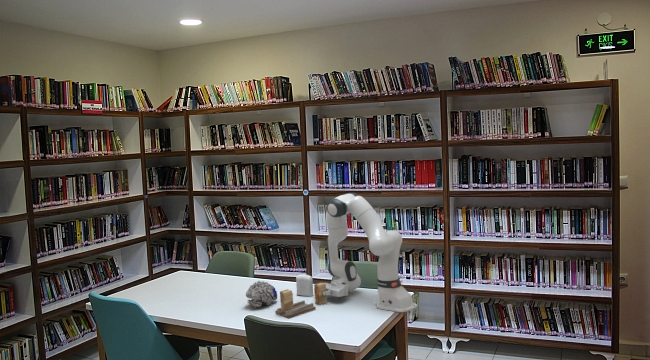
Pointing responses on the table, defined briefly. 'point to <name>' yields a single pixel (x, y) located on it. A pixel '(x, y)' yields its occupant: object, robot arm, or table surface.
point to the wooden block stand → (292, 305)
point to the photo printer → (304, 285)
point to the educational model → (261, 294)
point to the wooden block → (320, 293)
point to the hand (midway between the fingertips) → (319, 292)
